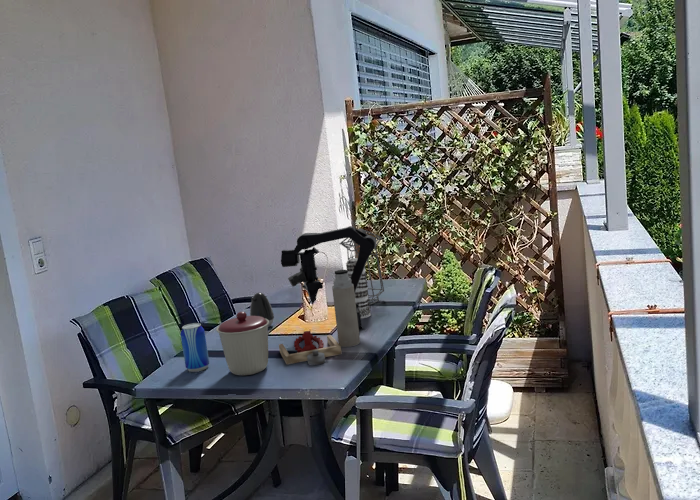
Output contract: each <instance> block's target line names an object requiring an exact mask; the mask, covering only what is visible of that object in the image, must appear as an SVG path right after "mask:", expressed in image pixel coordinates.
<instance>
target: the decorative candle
mask: <svg viewBox="0 0 700 500" xmlns="http://www.w3.org/2000/svg"><path fill="white" fill-rule="evenodd" d="M357 260H358V257H352V258H350V259H349V260H348V259H347V262H346V263H345V266H346V270H348V277H349V278H351V275H352V273H353V270H354V268H355V265H356V262H357ZM365 271H366V267H365V268H364V270H363V272H362V275H361V278H360V280H359V283H358V286H357V288H356V292H355V302H356V304H358V305H359V306H360V307H359V311H358V312H359V313H360V317H361V320H362V319H366V318H369V317H370V316H371V315H372V314H371V310H370V309H371V306H370V305H369V304H370V301H369V299H370V298H369V299H368V295H369V294H368V295H367V289H368V288H369V285H368V281H367V282H366V280H365V279H367V280H368V277H367V276H368V273H365ZM365 276H366V277H365ZM366 284H367V285H366ZM368 290H369V289H368Z"/></svg>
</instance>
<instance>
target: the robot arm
mask: <svg viewBox="0 0 700 500" xmlns="http://www.w3.org/2000/svg"><path fill="white" fill-rule="evenodd" d="M357 229H358V228H356V227H354V226H352V225H350V226H346V227H343V228H338V229H334V230H329V231H324V232H306V233H303V234H301V235H299V236H298V237H297V240H296V245H295V247H294V249H283V250H281V252H280V253H281V255H280V265H281V267H282V268H289V267H298V265H299V264H300V268H299V272H297V273H295V274H293V275H291V276H289V277H288V278H287V280H288V282H289V283H290V285H291V286H292V287H293V288H294V287H295V286H296V287H297V285H298V284H300V285H301V284H303V285H301V287H302V288H303V289H304V290H306V293H307V295H308V298H309V300H310V303H311V304H314V303H316V299H317V295H318V292H319V290H321V289H324V285H323V283H322V282H321V281H320V280H319V278H318V274H317V270H318V267H317V266H316V259H315V258H316V257H315V255H316V254H317V255H318V253H319V252H320V251H319V249H317V248H316V247H315V246H318V245H320V244H322V243H327V242H332V241H338V240H342V239H343V240H344V239H346V238H347V237H349V238H348V239H350V240H353V241H354V243H356V244H355V245H359V247H360V249H358V252H359V256H358V255H357V258H358V260H357V262H356V265H355V268H354V270H353V273H352V275H351V280H352V281H351V283H352V284H354V293H355V292H356V288H357V286H358V283H359V280H360V278H361V275H362V272H363V270H364V267H365V268H366V264H367V259H369V258H370V256H371V255H370V254H373V253H372V252H373V251H374V250H375V249H374V248H375V246H376V244H377V242H378V241H376V240H377V238H375V237H376V236H374V235H372V234H368V235H366V234H365V233H363V232H362V231H359V230H357ZM353 241H352V242H353ZM376 247H377V246H376ZM310 248H312V249H310ZM359 307H360V306H359V305H358V304H356V311H357V319H358V328H359V331H361V330H364V328H363V326H362V319H361V317H360V313H359V312H358V311H359Z"/></svg>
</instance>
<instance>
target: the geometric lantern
mask: <svg viewBox="0 0 700 500" xmlns="http://www.w3.org/2000/svg"><path fill="white" fill-rule="evenodd" d="M356 229H357V230H359V231H361V232H363V233H365V234H366V235H371V236H374V237H375V239H376V241H377V243H376V246H375V248H374V249H373V250H375V253H371V254H370V256H372V257H369V258H368V259H367V262H366V264H367V269H368V274H369V279H370V286H371V287H367V288H368V289H367V295H368V299H369V303H370V304H369V305H368V306H370V305H374V304H375V303H377V302H379V301H380V299H379V297H380V296H381V294H383V293H385V288H384V283H383V282H384V281H383V277H382V271H381V267H380V262H379V261H380V260H379V254H378V250H377V245H379V243H380V241H381V240H382V239H383V237H382V236H380V235H378V234H375V233H373V232H371V231H368V230H365V229H364V228H356ZM339 245H340V246H342V247H344V248H346V253H347V261H348V260H349V259H352V258H355V257H358V256H359V249H360V246H359V245H358V244H356V243H355V242H354V241H353V240H352V239H350V238H349V237H347V238H343V240H342V241H340V242H339ZM358 246H359V247H358ZM356 247H358V248H356ZM351 248H353V249H351ZM349 252H351V253H349ZM353 252H356V253H357V254H355V255H353V256H352V254H353ZM349 254H350V256H349ZM375 257H376V261H377V262H376V263H377V268H378V276H379V283H380V288H374V287H373V281H372V275H371V274H372V273H371V270H370V262H369V260H371V259H374V258H375ZM364 268H365V269H366V266H365V267H364ZM366 271H367V270H365V273H366ZM366 274H367V273H366ZM365 277H367V275H366V276H365ZM365 280H366V282H368V281H367V280H368V278H367V279H365ZM366 285H367V286H368V283H367V284H366ZM369 290H371V291H372V292H371V293H372V294H369ZM376 290H377V291H379V292H378V293H376V294H375V293H374V291H376Z"/></svg>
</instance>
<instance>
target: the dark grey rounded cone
mask: <svg viewBox="0 0 700 500" xmlns="http://www.w3.org/2000/svg"><path fill="white" fill-rule="evenodd" d="M250 300H251V301H250V302H251V303H250V307H249V308H250V309H249V316H260V317H263V318H265V319H268V320H269V324H268V328H270V327H271V326H272V325H273V323H274V318H275V315H274V311H273V307H272V305H271V303H270V301H269V299H268V297H267V296H266V295H265V294H264V293H263V292H256V293H255V294H254V295H253V296H252V297H251V298H250Z"/></svg>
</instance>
